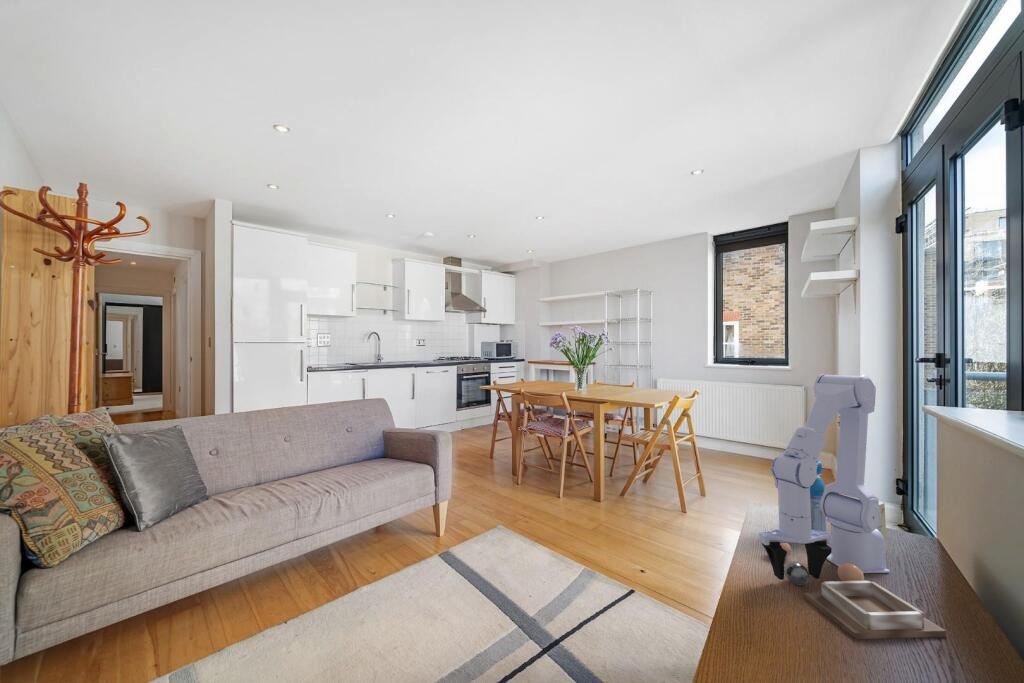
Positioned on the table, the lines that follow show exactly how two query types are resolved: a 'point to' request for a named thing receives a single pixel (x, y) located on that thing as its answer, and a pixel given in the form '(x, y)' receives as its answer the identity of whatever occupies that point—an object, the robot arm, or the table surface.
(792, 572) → the steel ball
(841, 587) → the holder board
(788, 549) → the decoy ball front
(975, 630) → the table surface
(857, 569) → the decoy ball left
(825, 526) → the beverage bottle
